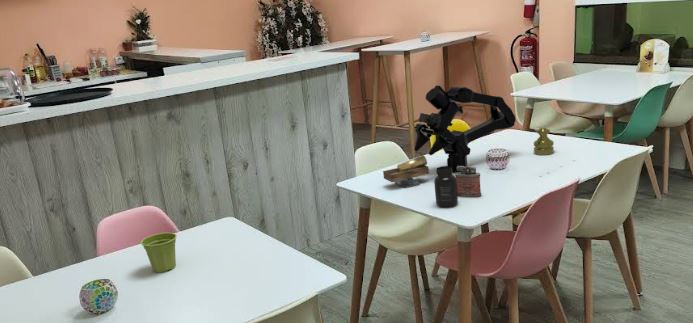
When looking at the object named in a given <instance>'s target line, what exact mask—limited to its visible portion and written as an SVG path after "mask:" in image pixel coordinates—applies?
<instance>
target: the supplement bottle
mask: <svg viewBox="0 0 693 323" xmlns="http://www.w3.org/2000/svg"><path fill="white" fill-rule="evenodd" d="M435 173H436V176H435V177H434V180H433V183H434V194H435V196H434V197H435V205H436V206H437V207H439V208H442V209H443V208H453V207H456V206H458V204H459V198H458V196H457V183H456V177H455V174H453V173H454V172H452V167H450V166H447V165H444V166H438V167H437V168H436V172H435Z"/></svg>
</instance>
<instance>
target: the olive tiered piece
mask: <svg viewBox="0 0 693 323" xmlns="http://www.w3.org/2000/svg"><path fill="white" fill-rule="evenodd" d="M535 132H536V133H537V134H538V135H539V136H538V138H536V140H534V141H533V146H534V147H533V153H534V155H537V156H549V155H552V154H554V153H555V151H554V150H555V149H554V140H552V139H550V137H549V136H548V134H549V133H551V130H550V129H549V128H546V127H541V128H538V129H537V130H536V131H535Z"/></svg>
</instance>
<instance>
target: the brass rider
mask: <svg viewBox="0 0 693 323" xmlns="http://www.w3.org/2000/svg"><path fill="white" fill-rule="evenodd" d="M424 165H426V166H427V165H428V161H427V157H426V155H420V156H417V157H415V158H412V159H410V160H407V161H405V162H402V163H400V164H399V163H398V164H397V166H396V168H398V171H399V173H400V172H405V171H408V170H414V169H417V168H419V167H422V166H424Z"/></svg>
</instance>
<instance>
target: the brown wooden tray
mask: <svg viewBox="0 0 693 323" xmlns="http://www.w3.org/2000/svg"><path fill="white" fill-rule="evenodd" d="M382 172H383V173H382V174H383V179H385V180H387V181H388V182H390V183H395V182H396V181H401V180H405V179H409V178H413V179H414V178H417V177H422V176H426V175H430V168H429V166H427V165H424V166H422V167H419V168H417V169H414V170H408V171H405V172H400V173H399V171H398V168H397V167H395V168H391V169H387V170H383V171H382Z"/></svg>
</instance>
